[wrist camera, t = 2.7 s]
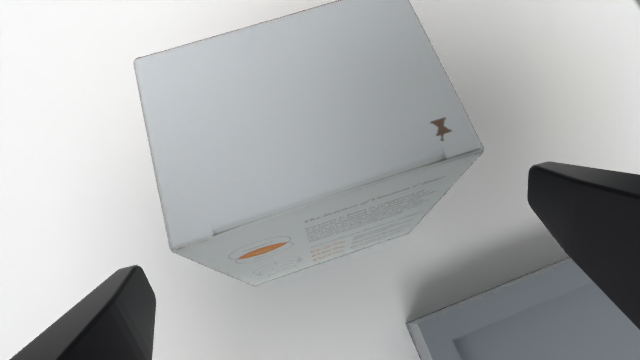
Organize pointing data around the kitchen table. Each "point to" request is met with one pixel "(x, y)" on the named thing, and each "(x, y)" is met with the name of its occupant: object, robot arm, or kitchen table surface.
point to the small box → (302, 137)
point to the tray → (531, 322)
